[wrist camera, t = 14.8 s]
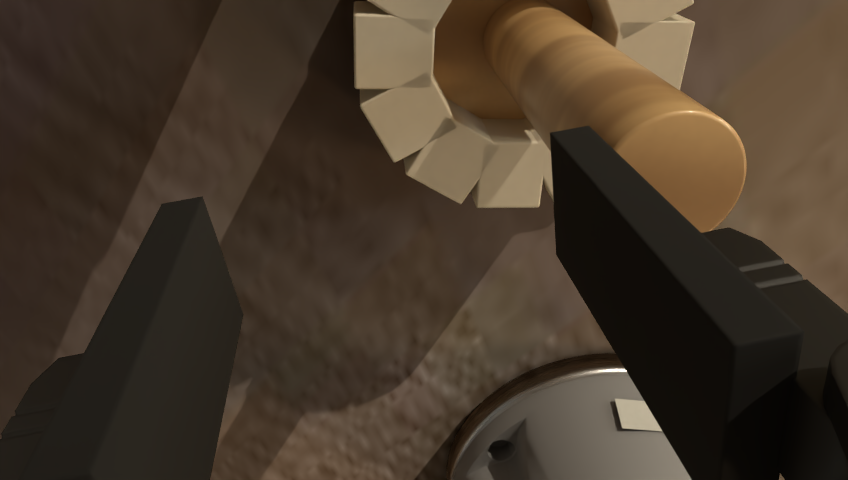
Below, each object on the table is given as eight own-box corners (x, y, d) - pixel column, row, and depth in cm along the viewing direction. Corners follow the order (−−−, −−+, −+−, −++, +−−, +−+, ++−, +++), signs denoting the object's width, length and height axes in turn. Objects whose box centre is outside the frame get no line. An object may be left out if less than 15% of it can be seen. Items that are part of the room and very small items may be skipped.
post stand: (628, 122, 28) (858, 332, 15) (416, 158, 28) (466, 398, 15) (631, -120, 23) (961, -114, 11) (378, -79, 23) (406, -23, 10)
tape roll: (628, 180, 27) (653, 207, 25) (355, 180, 26) (356, 209, 24) (692, -132, 22) (731, -132, 20) (351, -147, 21) (351, -150, 18)
